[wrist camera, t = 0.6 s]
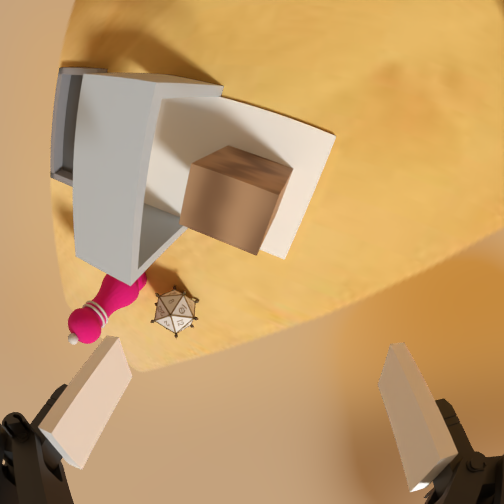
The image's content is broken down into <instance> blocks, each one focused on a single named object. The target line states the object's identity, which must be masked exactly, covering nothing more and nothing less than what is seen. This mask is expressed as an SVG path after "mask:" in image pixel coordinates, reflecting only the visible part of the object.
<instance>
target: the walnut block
mask: <svg viewBox="0 0 504 504" xmlns="http://www.w3.org/2000/svg"><path fill="white" fill-rule="evenodd" d="M292 171H293V168H290V167H287V166H285V165H282V164H280V163H277V162H274V161H272V160H269V159H266V158H263V157H261V156H258V155H255V154H252V153H249V152H246V151H243V150H241V149H238V148H235V147H232V146H229V145H228V146H226V147H224V148H222V149H219V150H217V151H215V152H213V153H211V154H209V155H207V156H205V157H203V158H201V159H199V160H197V161H195V162H193V163H191V167H190V171H189V176H188V180H187V185H186V190H185V195H184V200H183V205H182V210H181V215H180V221H179V224H180V225H183V226H185V227H188V228H190V229H192V230H195V231H197V232H200V233H202V234H205V235H207V236H210V237H212V238H215V239H217V240H219V241H222V242H224V243H227V244H229V245H232V246H234V247H237V248H239V249H242V250H244V251H246V252H249V253H251V254H254V255H256V256H257V254H258V251H259V249H260V247H261V245H262V243H263V241H264V239H265V237H266V235H267V233H268V231H269V229H270V227H271V225H272V222H273V220H274V218H275V216H276V214H277V211H278V209H279V206H280V203H281V201H282V198H283V195H284V193H285V190H286V187H287V185H288V182H289V179H290V177H291V174H292Z"/></svg>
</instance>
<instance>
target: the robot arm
mask: <svg viewBox="0 0 504 504" xmlns="http://www.w3.org/2000/svg"><path fill="white" fill-rule="evenodd" d="M131 378H132V375H131V372H130V369H129V366H128V363H127V360H126V357H125V355H124V352H123V349H122V345H121V342H120V339H119V337H113V336H106V337H105V338H104V340H103V341H102V342H101V344H100V345H99V346H98V347H97V348H96V350H95V351H94V352H93V353H92V355H91V356H90V357H89V359H88V360H87V361H86V362H85V364H84V365H83V366H82V368H81V369H80V370H79V372H78V373H77V374H76V375H75V377H74V378H73V379H72V381H71V382H70V383H69V385H66V384H63V385H62V386H60V387H59V388H58V389H56V390H55V392H54V393H53V394H52V396H51V397H50V399H48V401H47V402H46V404H45V405H44V406H43V408H42V409H41V410H40V412H39V413H38V414H37V416H36V417H35V419H34V420H33V421H32V423H31V424H29V423H28V422H27V420H26V419H25V417H24V416H23V415H22V414H21V413H18V412H13V413H10V414H8V415H7V416H6V417H5V418H4V419H3V421H2V425H1V424H0V504H74V503H73V499H72V497H71V493H70V490H69V486H68V483H67V479H66V476H65V472H64V468H63V465H62V463H61V459H62V457H63V458H64V459H65V460H66V461H67V463H68V464H70V465H73V466H74V467H77V468H79V469H83V466H84V465H85V463H86V461H87V459H88V457H89V455H90V453H91V451H92V449H93V447H94V445H95V444H96V442H97V440H98V438H99V436H100V434H101V432H102V430H103V429H104V427H105V425H106V423H107V421H108V419H109V418H110V416H111V414H112V412H113V410H114V408H115V407H116V405H117V403H118V401H119V400H120V398H121V396H122V394H123V392H124V391H125V389H126V387H127V385H128V384H129V382H130V380H131ZM378 387H379V390H380V392H381V395H382V399H383V402H384V405H385V408H386V411H387V414H388V417H389V420H390V423H391V426H392V430H393V433H394V436H395V440H396V443H397V446H398V450H399V453H400V457H401V460H402V464H403V468H404V471H405V475H406V479H407V483H408V487H409V491H410V492H412V491H416V490H419V489H422V488H426V487H427V486H428V485H429V484H430V483H431V482H432V481H433V483H434V488H433V489H432V490H431V491H429V492H428V493H427V494H426V496H425V497H424V498H427V497H428V496H429V497H428V499H427V500H426V502H425V504H504V455H503V456H496V457H485V456H484V455H483V454H482V453H480V452H475V451H474V450H473V448H472V446H471V445H470V442H469V440H468V438H467V436H466V433H465V431H464V429H463V427H462V425H461V424H460V421H459V419H458V417H457V416H456V413H455V411H454V409H453V407H452V405H451V404H450V403H448V402H447V401H446V400H445V399H440V400H434V398H433V396H432V394H431V392H430V390H429V388H428V386H427V384H426V382H425V380H424V378H423V376H422V374H421V372H420V371H419V369H418V367H417V365H416V363H415V361H414V359H413V358H412V355H411V354H410V352H409V350H408V348H407V346H406V345H405V343H394V344H390V347H389V350H388V354H387V357H386V361H385V364H384V367H383V370H382V373H381V377H380V379H379V382H378ZM3 459H4V460H5V464H4V465H3V464H2V461H3Z"/></svg>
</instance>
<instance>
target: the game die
mask: <svg viewBox="0 0 504 504" xmlns="http://www.w3.org/2000/svg"><path fill="white" fill-rule="evenodd" d="M173 289H174V290H172V291H170V292H168V293H165V294H163V295H160V296H159V294H158V293H155V294H156V296H157V297H158V302H157V303H155V306H157V307H156V313H155V319H154V320H151V322H150V323H153V322H157V323H159V324H160V325H162V326H163V327H165V328H166V329H168V330H170V331H172V332H173V333H175V338H177V337H178V336H177V333H179V332H180V331H182V330H184V329H185V328H187V327H189V326H190V327H191V328H192V327H193V328H194V326H193V325H192V322H193V320H198V318H197V317H195V303H197V302H199V300H196V301H193V300H192V299H190V298H189V297H187V296H186V295H185V294H186V291H183V294H182V293H181V292H179V291H177V290H176V286H175V285H174V287H173Z"/></svg>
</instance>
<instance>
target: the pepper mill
mask: <svg viewBox="0 0 504 504" xmlns="http://www.w3.org/2000/svg"><path fill="white" fill-rule="evenodd" d="M146 282H147V278H146V274H145V272H144V273H143V274H142V275H141V276H140V277H139V278H138V279H137V280H136V281H135V282H134V283H133V284H132V285H131V286H129V285H128V284H126V283H124V282H122V281H120V280H118V279H116V278H114V277H112V276H110V275H109V274H107V275H106V276H105V278H104V280H103V282H102V285H101V288H100V290H99V292H98V294H97V295H96V297H95V298H94V299H93V300H92V301H87V302H86V304H84V305H83V307H82V308H79V309H76V310H74V311H73V312H72V313H71V315H70V317H69V319H68V326H69V330H70V332H71V334H70V335H69V336H68V340H69V342H70V343H71V344H76V343H77V342H78V341H80V342H82V343H86V344H88V343H93V342H95V341H96V340H97V339H98V338H99V336H100V334H101V328H103V327H104V326H105V324H107V323H108V318H109V316H110V315H111V314H112V313H113V312H114V311H116V310H117V309H120V308H122V307H125V306H128V305H130V304H131V303H133V302H134V301H135V300H136V299H137V297H138V294H139V291H140V290H141V289H142V288H143V287H144V286H145V284H146Z"/></svg>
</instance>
